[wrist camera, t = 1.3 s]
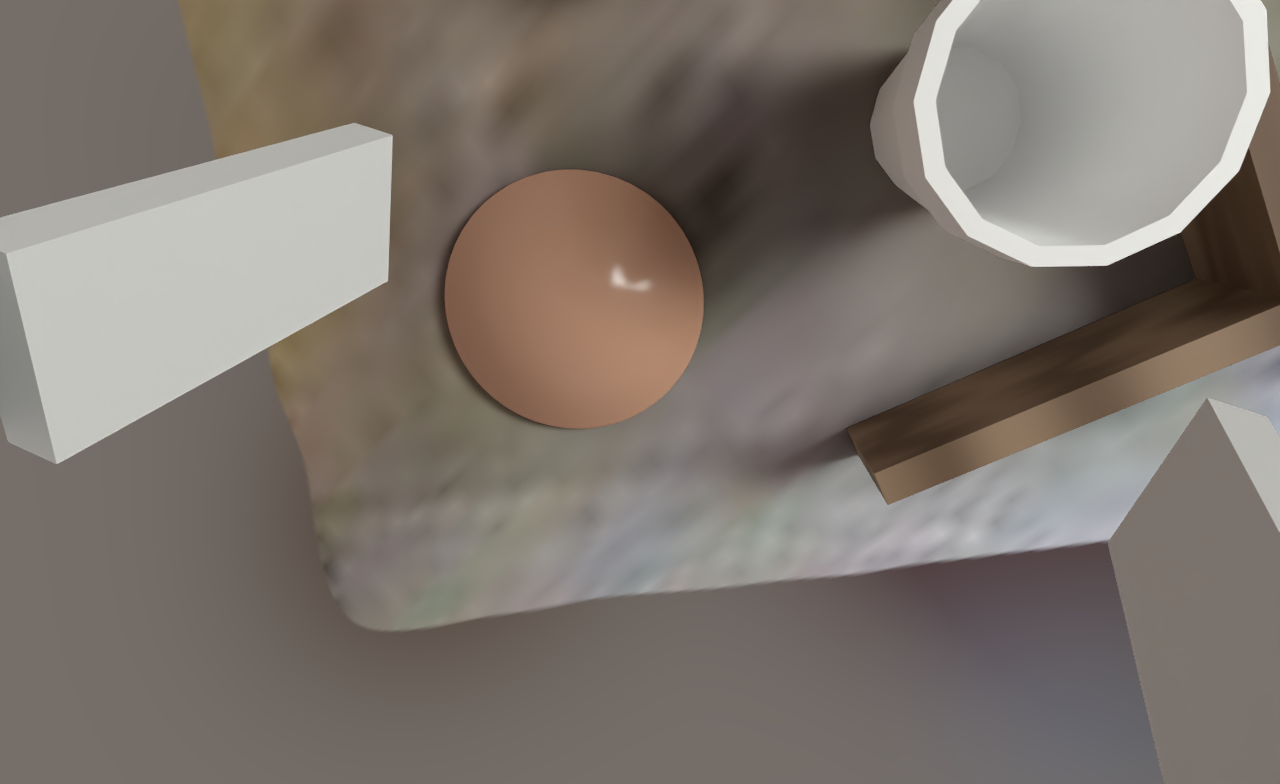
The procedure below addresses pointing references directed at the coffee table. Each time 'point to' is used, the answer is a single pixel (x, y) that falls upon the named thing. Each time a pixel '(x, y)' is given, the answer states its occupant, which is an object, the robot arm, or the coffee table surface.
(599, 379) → the terracotta pad
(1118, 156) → the foam cup
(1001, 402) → the wooden tray
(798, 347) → the coffee table surface
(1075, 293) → the coffee table surface
